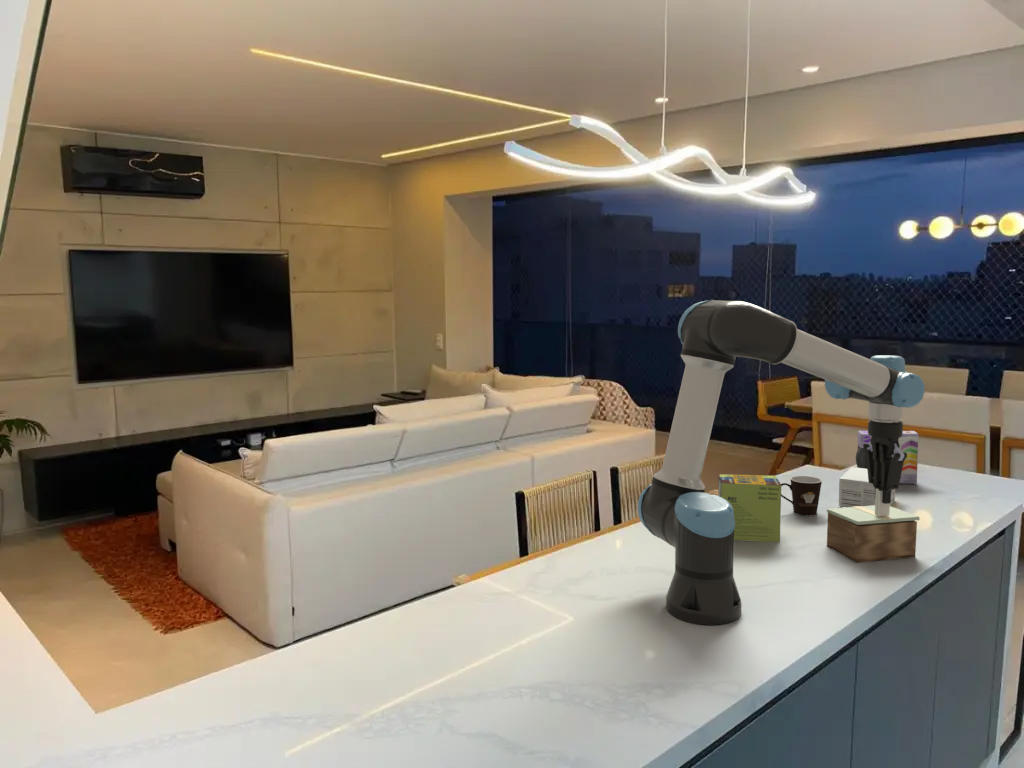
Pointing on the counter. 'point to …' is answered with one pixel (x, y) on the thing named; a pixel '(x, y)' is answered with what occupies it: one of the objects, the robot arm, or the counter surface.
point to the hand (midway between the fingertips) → (882, 514)
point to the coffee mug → (804, 494)
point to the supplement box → (857, 489)
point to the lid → (871, 515)
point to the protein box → (753, 505)
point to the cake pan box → (907, 445)
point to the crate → (871, 539)
